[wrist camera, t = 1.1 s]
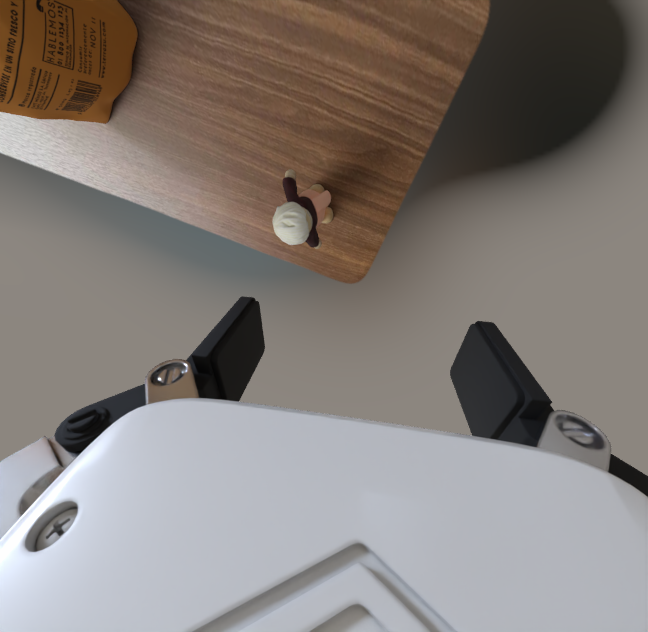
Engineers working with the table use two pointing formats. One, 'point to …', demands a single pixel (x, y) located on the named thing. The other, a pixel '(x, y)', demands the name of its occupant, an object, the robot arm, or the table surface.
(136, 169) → the table surface
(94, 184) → the table surface
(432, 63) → the table surface
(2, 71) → the coffee package
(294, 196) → the grandmother figurine
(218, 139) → the table surface
